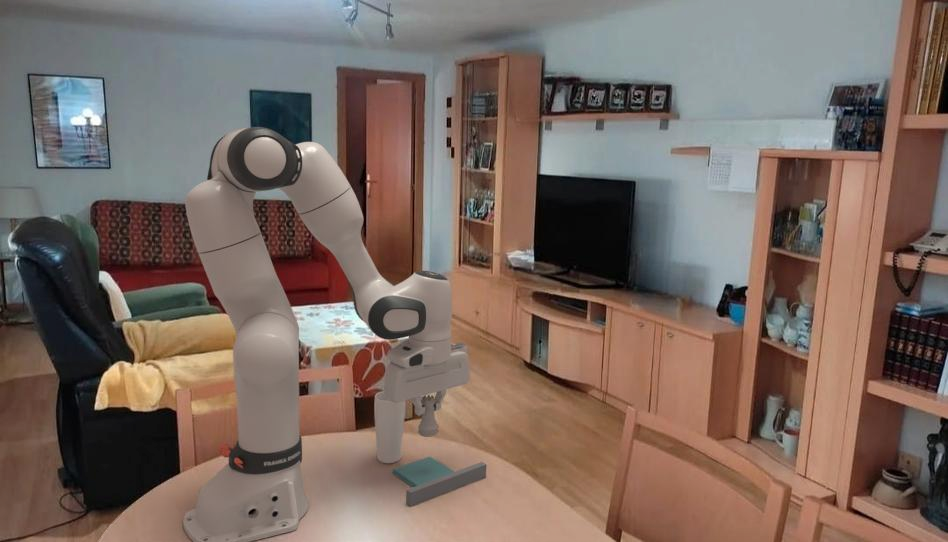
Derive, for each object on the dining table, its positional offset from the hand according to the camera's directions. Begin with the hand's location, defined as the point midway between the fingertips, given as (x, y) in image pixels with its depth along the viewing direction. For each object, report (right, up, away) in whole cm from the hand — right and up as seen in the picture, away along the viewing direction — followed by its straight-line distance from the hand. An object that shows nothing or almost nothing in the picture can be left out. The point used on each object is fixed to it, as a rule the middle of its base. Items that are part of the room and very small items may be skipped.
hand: (427, 411), depth 146 cm
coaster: (-1, -14, +3) cm, 15 cm away
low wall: (+4, -16, -3) cm, 16 cm away
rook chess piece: (0, -5, +1) cm, 5 cm away
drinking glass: (-9, -13, +10) cm, 19 cm away
